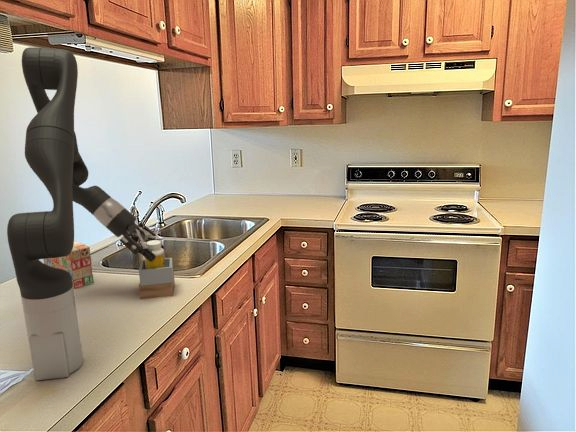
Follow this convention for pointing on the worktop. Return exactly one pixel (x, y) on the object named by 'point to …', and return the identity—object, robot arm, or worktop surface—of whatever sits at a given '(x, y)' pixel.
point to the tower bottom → (157, 290)
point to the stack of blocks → (75, 265)
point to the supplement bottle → (158, 251)
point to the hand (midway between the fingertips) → (158, 254)
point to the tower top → (156, 273)
